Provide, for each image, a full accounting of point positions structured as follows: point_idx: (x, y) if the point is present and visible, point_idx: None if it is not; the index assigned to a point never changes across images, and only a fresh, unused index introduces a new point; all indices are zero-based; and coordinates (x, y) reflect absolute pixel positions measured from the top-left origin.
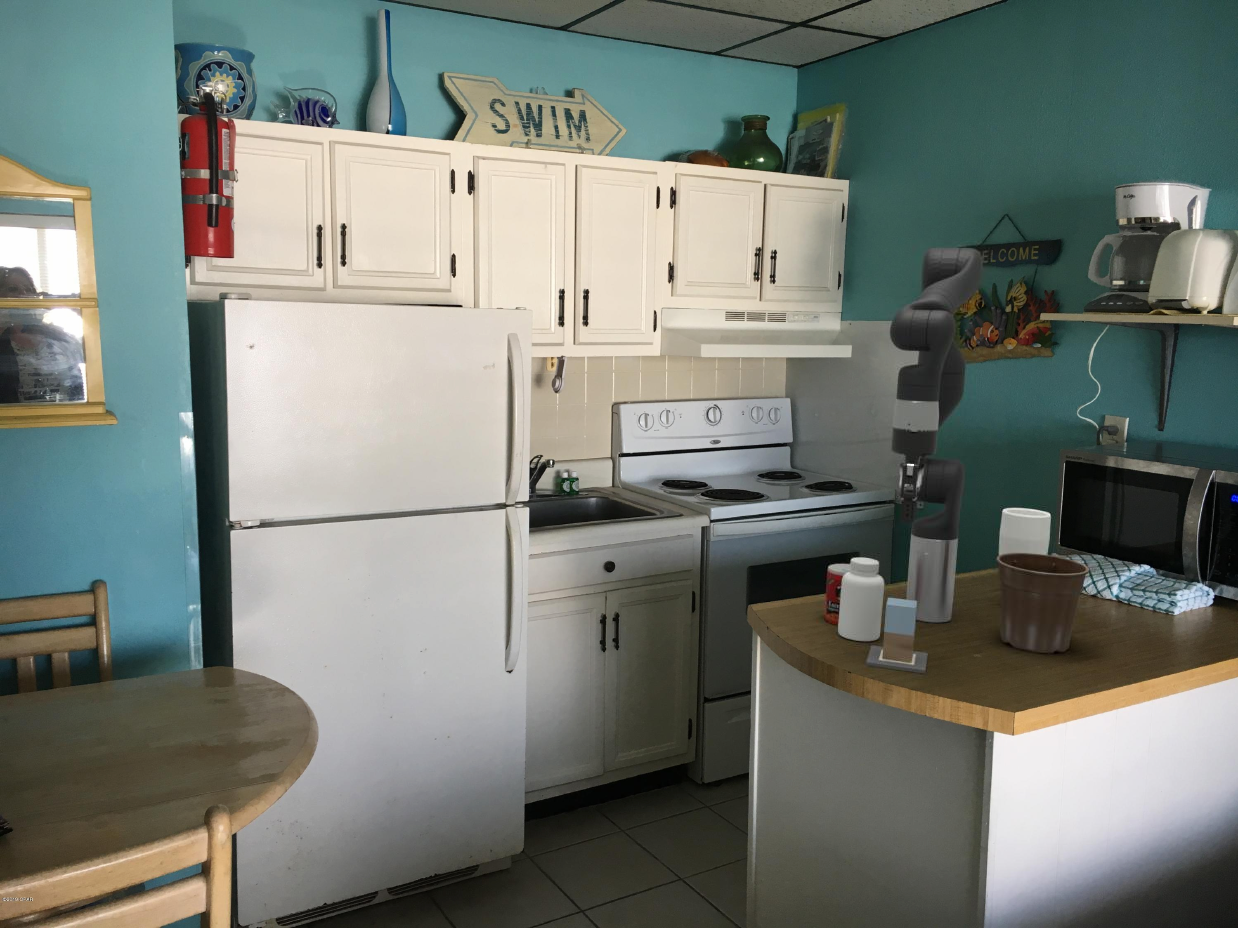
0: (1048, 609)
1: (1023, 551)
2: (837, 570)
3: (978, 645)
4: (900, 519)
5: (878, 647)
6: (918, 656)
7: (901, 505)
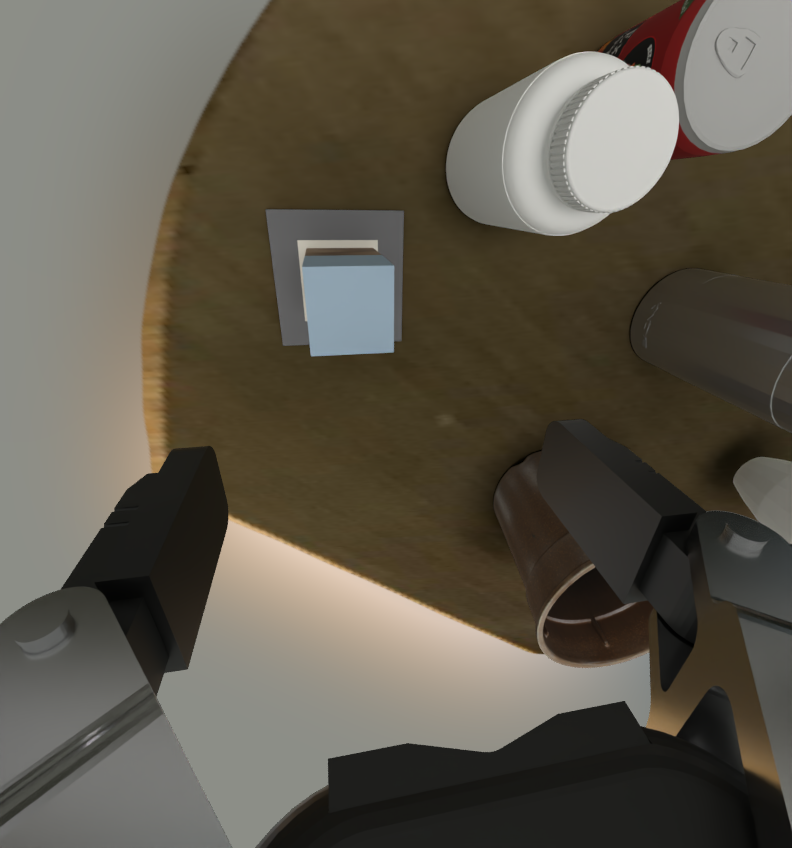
0: (517, 563)
1: None
2: (744, 14)
3: (505, 418)
4: (174, 452)
5: (394, 230)
6: None
7: (119, 539)
